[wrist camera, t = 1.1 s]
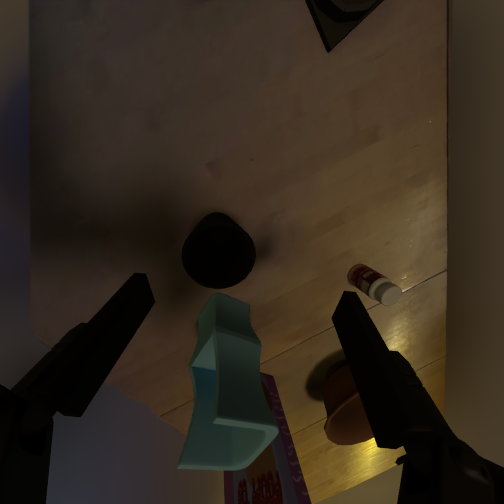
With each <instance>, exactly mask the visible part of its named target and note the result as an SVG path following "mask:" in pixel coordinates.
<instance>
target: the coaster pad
mask: <svg viewBox="0 0 504 504" xmlns="http://www.w3.org/2000/svg"><path fill="white" fill-rule="evenodd" d="M382 1H383V0H306V2H307V5H308V7H309V9H310V12H311V14H312V16H313V19H314V21H315V24H316V26H317V28H318V31H319V33H320V35H321V38H322V40H323V43H324V45H325V47H326V50H327V52H329V51H330V50H332V49H333V48H334V47H335V46H336V45H337V44H338V43H339V42H340V41H341V40H342V39H343V38H344V37H345V36H346V35H347V34H348V33H349V32H351V31H352V30H353V29H354V28H355V27H356V26H357V25H358V24H359V23H360V22H361V21H362V20H363V19H364V18H365V17H366V16H367V15H368V14H370V13H371V12H372V11H373V10H374V9H375V8H376V7H377V6H378V5H379V4H380V3H381V2H382Z"/></svg>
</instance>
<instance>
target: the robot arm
mask: <svg viewBox="0 0 504 504" xmlns="http://www.w3.org/2000/svg"><path fill="white" fill-rule="evenodd" d="M154 303H155V300H154V297H153V294H152V291H151V288H150V285H149V282H148V279H147V276H146V274H143V273H134V274H133V275H132V276H131V277H130V278H129V279H128V280H127V281H126V282H125V284H124V285H123V286H122V287H121V288H120V289H119V290H118V291H117V292H116V293H115V294H114V295H113V296H112V297H111V299H110V300H109V301H108V302H107V303H106V304H105V305H104V306H103V307H102V308H101V309H100V310H99V311H98V313H97V314H96V315H95V316H94V317H93V318H92V319H91V320H90V321H89V322H88V323H80V324H79V325H77V326H76V327H74V328H73V329H71V330H70V331H69V332H68V333H67V334H66V335H65V336H64V337H63V338H62V339H61V340H60V341H59V343H57V344H56V345H55V346H54V347H53V348H52V349H51V351H50V352H48V353H47V354H46V355H45V356H44V357H43V358H42V359H41V360H40V361H39V362H38V363H37V364H36V365H35V366H34V367H33V368H32V369H31V370H30V371H29V372H28V373H27V374H26V375H25V376H24V377H23V378H22V379H21V380H20V381H19V382H18V383H17V384H16V385H15V386H14V387H13V388H12V389H11V390H8V389H7V388H5V387H4V386H2V385H0V504H46V496H47V485H48V475H49V465H50V454H51V443H52V433H53V424H54V423H53V418H52V417H53V416H54V414H55V413H56V411H58V412H60V413H61V414H63V415H64V416H74V417H81V416H82V414H83V413H84V411H85V410H86V408H87V407H88V405H89V404H90V402H91V401H92V399H93V397H94V396H95V394H96V393H97V391H98V390H99V388H100V387H101V385H102V384H103V382H104V381H105V379H106V377H107V376H108V374H109V373H110V371H111V370H112V368H113V367H114V365H115V364H116V362H117V360H118V359H119V357H120V356H121V354H122V353H123V351H124V350H125V348H126V347H127V345H128V344H129V342H130V340H131V339H132V337H133V336H134V334H135V333H136V331H137V330H138V328H139V327H140V325H141V323H142V322H143V320H144V319H145V317H146V316H147V314H148V313H149V311H150V310H151V308H152V307H153V305H154ZM332 321H333V323H334V326H335V329H336V332H337V334H338V337H339V340H340V343H341V346H342V348H343V351H344V354H345V357H346V360H347V362H348V365H349V368H350V371H351V374H352V376H353V379H354V382H355V385H356V388H357V390H358V393H359V396H360V399H361V402H362V404H363V407H364V410H365V413H366V416H367V418H368V421H369V424H370V427H371V430H372V432H373V435H374V438H375V441H376V444H377V446H378V447H379V448H389V449H397V448H399V447H401V446H403V447H404V449H405V451H406V453H407V454H405V455H403V456H401V457H399V458H397V460H396V462H395V463H396V464H397V465H400V464H402V463H404V464H403V470H402V476H401V483H400V489H399V495H398V502H397V504H504V467H501V466H499V465H497V464H495V463H493V462H491V461H489V460H486V459H484V458H482V457H481V456H479V455H478V454H477V453H476V452H475V451H474V450H473V449H472V448H471V447H469V445H467V444H466V443H465V442H463V441H462V440H460V439H458V438H457V437H456V435H455V434H454V433H453V432H452V430H451V429H450V427H449V426H448V424H447V423H446V421H445V419H444V418H443V416H442V415H441V413H440V411H439V410H438V408H437V407H436V405H435V403H434V402H433V400H432V399H431V397H430V395H429V394H428V392H427V391H426V389H425V387H423V384H422V383H421V381H420V379H419V378H418V377H417V376H416V373H415V371H414V370H413V368H412V367H411V365H410V363H409V362H408V361H407V360H406V359H405V358H404V357H403V356H402V355H401V354H400V353H399V352H398V351H389V349H388V347H387V346H386V344H385V342H384V340H383V339H382V337H381V335H380V333H379V332H378V330H377V328H376V326H375V325H374V323H373V321H372V319H371V318H370V316H369V314H368V312H367V311H366V309H365V307H364V305H363V304H362V302H361V300H360V298H359V297H358V295H357V293H356V292H351V291H344V292H343V294H342V297H341V299H340V301H339V303H338V305H337V307H336V309H335V312H334V314H333V316H332Z"/></svg>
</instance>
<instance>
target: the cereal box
mask: <svg viewBox="0 0 504 504" xmlns="http://www.w3.org/2000/svg"><path fill="white" fill-rule="evenodd" d="M260 380H261V384H262V389H263V392H264V395H265V398H266V401H267V404H268V406H269V408H270V411H271V413H272V415H273V418H274V420H275V422H276V424H277V427H278V430H279V432H278V434H277V436H276V437H275V438H274V439H273V440H272V441H271V443H270V444H269V445H268V446H267V447H266V448H265V449H264V450H263V451H262V452H261V453H260V455H259V456H258V457H257V458H256V459H255V460H254V461H253V462H252V463H251V464H250V465H249V466H248V467H246V468H243V469H241V470H224V496H225V504H311V500H310V497H309V494H308V490H307V487H306V484H305V481H304V477H303V474H302V471H301V467H300V464H299V461H298V457H297V454H296V451H295V447H294V444H293V441H292V437H291V434H290V431H289V428H288V424H287V421H286V418H285V414H284V411H283V408H282V404H281V401H280V398H279V394H278V391H277V388H276V384H275V381H274V378H273V376H271V375H267V374H264V373H260Z"/></svg>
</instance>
